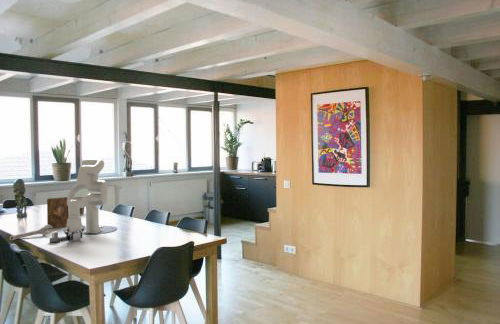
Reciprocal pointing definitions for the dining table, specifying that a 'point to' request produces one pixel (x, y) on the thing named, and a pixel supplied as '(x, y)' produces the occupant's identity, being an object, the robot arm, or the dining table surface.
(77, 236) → the cube with metal dome
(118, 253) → the dining table surface
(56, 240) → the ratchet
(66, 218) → the book
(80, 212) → the plant pot
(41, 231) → the wrench
